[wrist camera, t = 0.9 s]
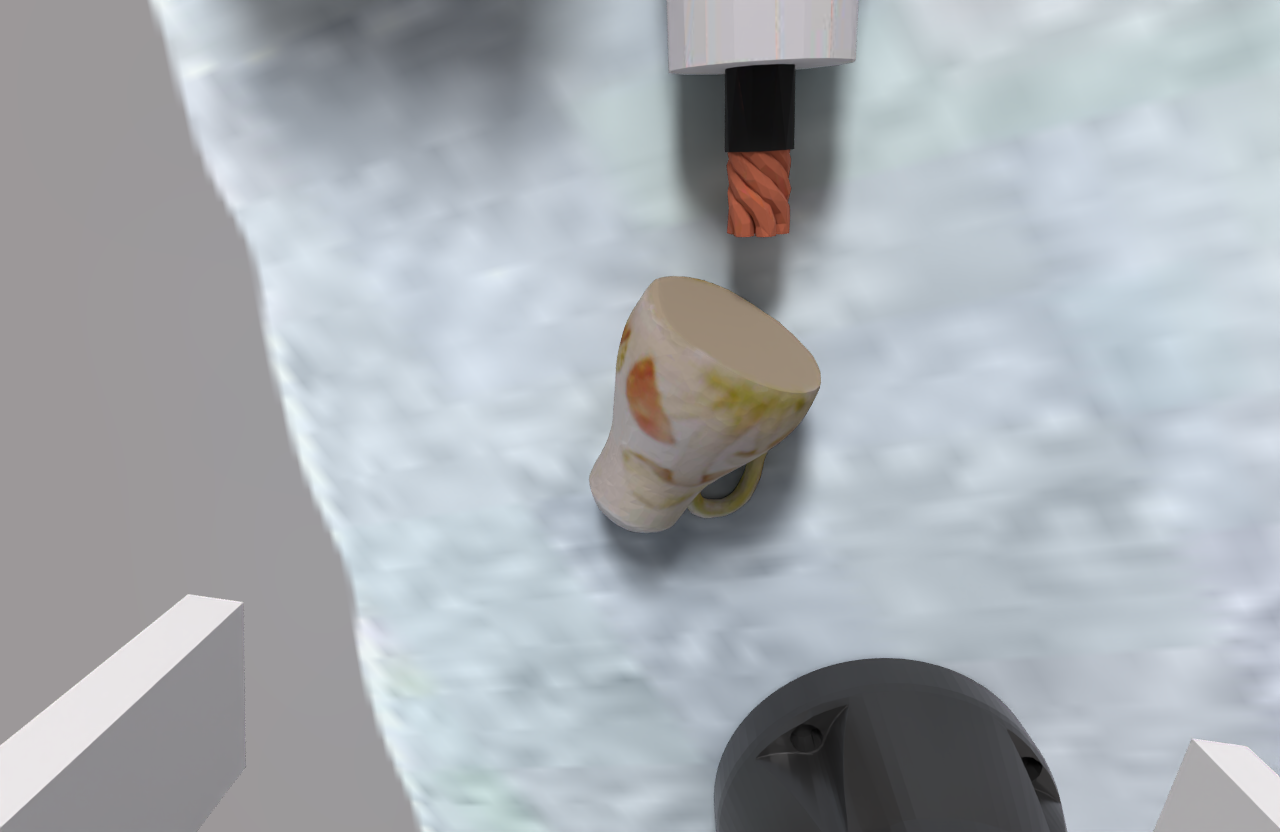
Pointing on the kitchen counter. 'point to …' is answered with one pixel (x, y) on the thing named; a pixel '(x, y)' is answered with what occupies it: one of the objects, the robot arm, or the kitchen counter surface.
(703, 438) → the mug
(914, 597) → the kitchen counter surface
